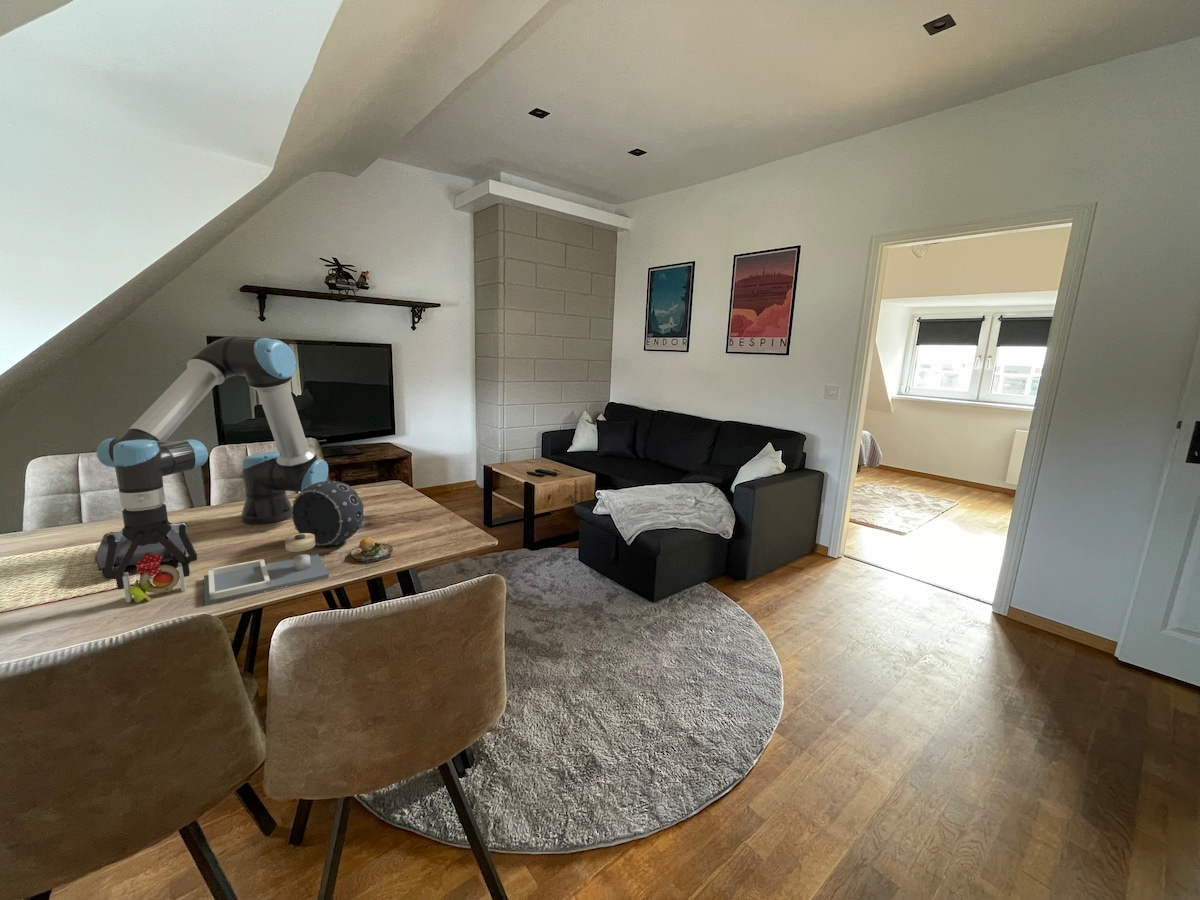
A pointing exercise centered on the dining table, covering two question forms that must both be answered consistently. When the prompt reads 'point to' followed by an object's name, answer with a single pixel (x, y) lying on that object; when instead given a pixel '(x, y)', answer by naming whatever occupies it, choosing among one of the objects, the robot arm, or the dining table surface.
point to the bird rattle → (162, 579)
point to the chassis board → (260, 577)
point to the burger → (370, 551)
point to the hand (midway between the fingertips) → (157, 594)
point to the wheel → (300, 542)
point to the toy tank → (138, 550)
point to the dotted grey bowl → (328, 512)
